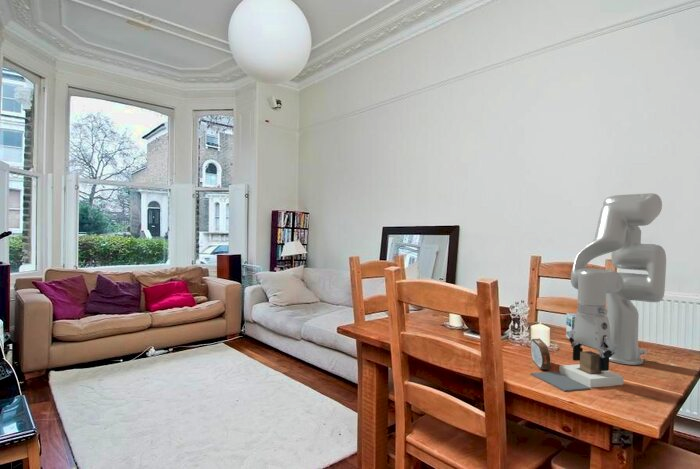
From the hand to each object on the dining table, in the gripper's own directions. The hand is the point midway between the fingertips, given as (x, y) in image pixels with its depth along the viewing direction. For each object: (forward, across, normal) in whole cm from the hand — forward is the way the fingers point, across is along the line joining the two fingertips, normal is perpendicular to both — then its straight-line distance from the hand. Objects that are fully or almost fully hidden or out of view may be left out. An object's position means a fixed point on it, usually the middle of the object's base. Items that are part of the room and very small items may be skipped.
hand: (590, 365), depth 121 cm
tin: (+5, +14, +6) cm, 16 cm away
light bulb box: (+4, +40, -36) cm, 54 cm away
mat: (+4, 0, +11) cm, 12 cm away
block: (+4, 0, 0) cm, 4 cm away
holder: (+4, 0, 0) cm, 4 cm away
